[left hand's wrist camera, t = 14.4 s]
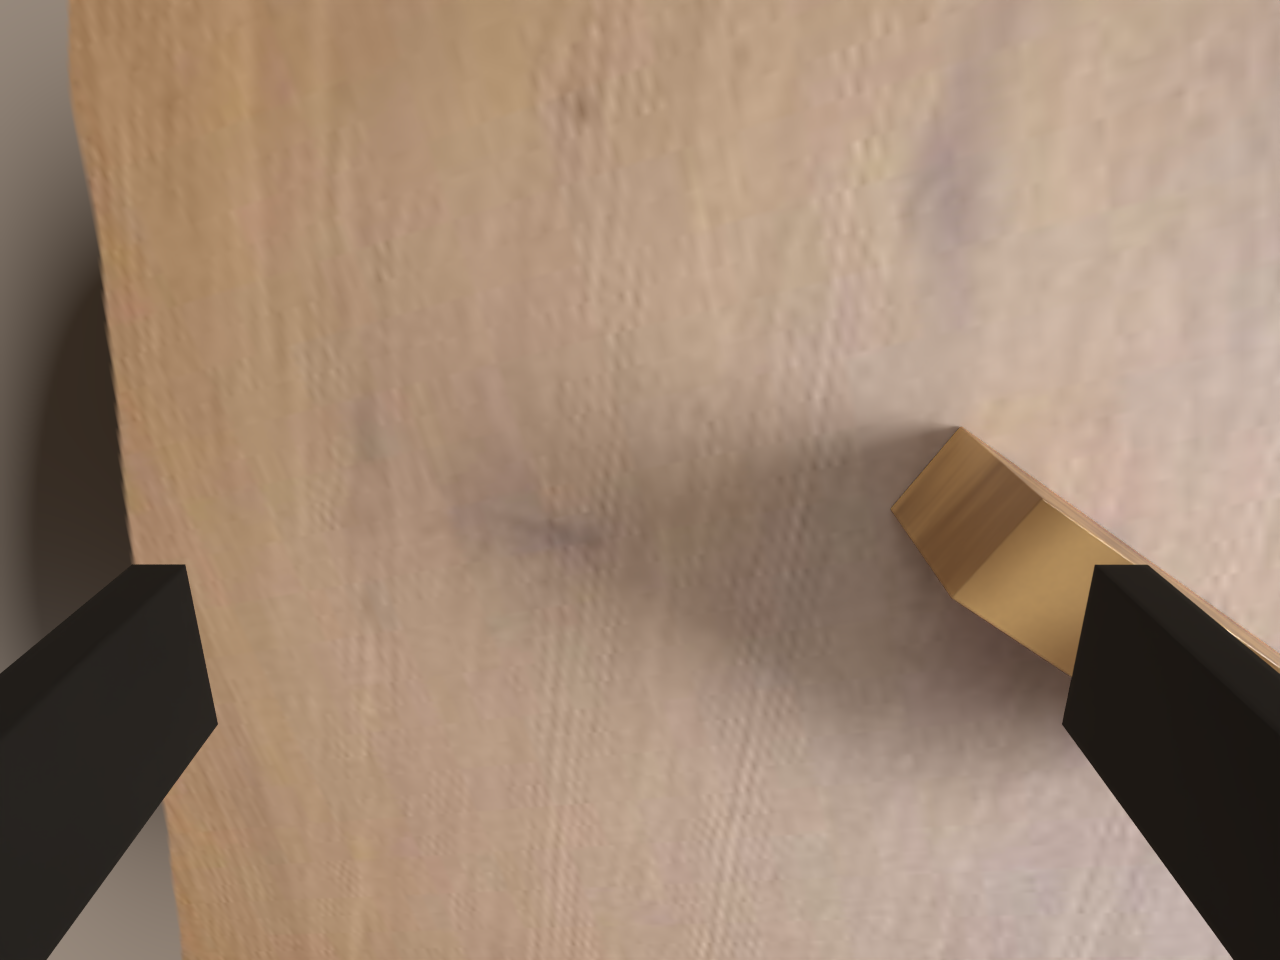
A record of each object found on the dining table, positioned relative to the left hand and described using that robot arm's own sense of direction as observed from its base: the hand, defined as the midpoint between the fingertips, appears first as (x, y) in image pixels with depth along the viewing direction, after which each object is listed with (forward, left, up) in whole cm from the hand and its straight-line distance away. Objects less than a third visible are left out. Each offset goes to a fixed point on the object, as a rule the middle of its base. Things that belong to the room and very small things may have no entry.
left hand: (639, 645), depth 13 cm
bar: (+7, +25, -28) cm, 38 cm away
